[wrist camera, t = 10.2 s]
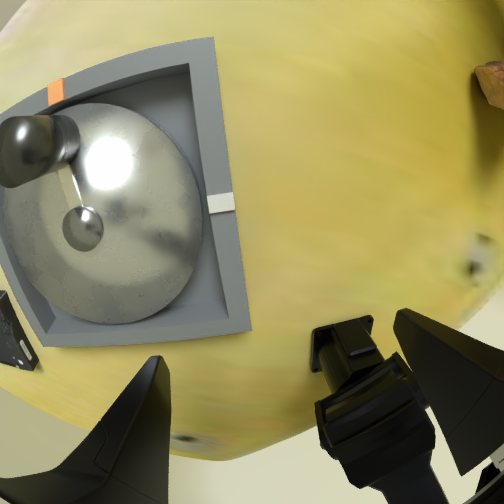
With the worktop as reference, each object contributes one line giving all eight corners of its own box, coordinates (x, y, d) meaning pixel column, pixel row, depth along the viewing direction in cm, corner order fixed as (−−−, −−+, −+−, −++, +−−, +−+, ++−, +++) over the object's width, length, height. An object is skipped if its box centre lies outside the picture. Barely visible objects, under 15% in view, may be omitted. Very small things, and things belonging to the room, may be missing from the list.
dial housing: (247, 307, 23) (252, 332, 20) (54, 327, 22) (42, 348, 19) (213, 50, 14) (213, 35, 11) (-9, 132, 13) (-32, 137, 10)
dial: (228, 286, 21) (235, 351, 15) (66, 320, 21) (37, 374, 14) (171, 71, 14) (145, 38, 8) (-2, 159, 13) (-59, 179, 7)
